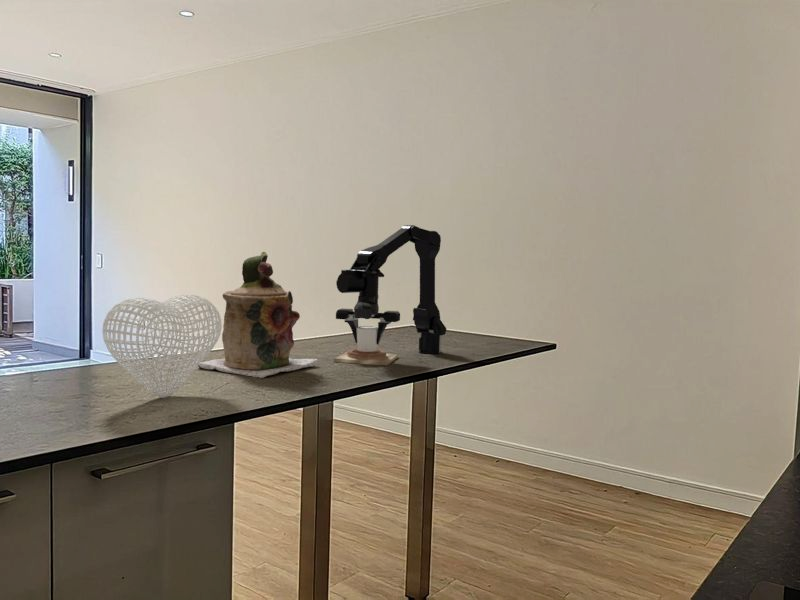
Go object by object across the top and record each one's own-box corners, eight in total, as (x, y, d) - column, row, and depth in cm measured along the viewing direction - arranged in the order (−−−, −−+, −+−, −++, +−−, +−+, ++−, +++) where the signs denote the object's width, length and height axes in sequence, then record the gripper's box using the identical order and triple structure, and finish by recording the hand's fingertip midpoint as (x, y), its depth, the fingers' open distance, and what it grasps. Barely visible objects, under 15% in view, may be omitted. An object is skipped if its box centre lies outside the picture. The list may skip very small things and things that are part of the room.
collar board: (397, 357, 221) (397, 349, 221) (387, 365, 207) (387, 356, 207) (347, 354, 225) (347, 346, 224) (334, 361, 210) (334, 353, 210)
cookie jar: (192, 368, 192) (194, 249, 189) (251, 357, 213) (253, 250, 211) (266, 379, 180) (268, 253, 178) (320, 366, 202) (323, 253, 200)
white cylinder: (351, 349, 215) (351, 326, 215) (367, 347, 220) (367, 325, 220) (366, 352, 211) (367, 329, 210) (383, 350, 216) (383, 327, 215)
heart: (140, 414, 140) (141, 302, 139) (86, 404, 147) (86, 297, 146) (234, 391, 165) (235, 295, 163) (184, 383, 172) (185, 291, 170)
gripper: (331, 292, 208) (329, 345, 209) (393, 295, 204) (391, 349, 206) (341, 290, 219) (340, 340, 220) (401, 292, 215) (399, 344, 217)
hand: (367, 343), depth 215 cm, fingers closed on white cylinder, 6 cm apart
